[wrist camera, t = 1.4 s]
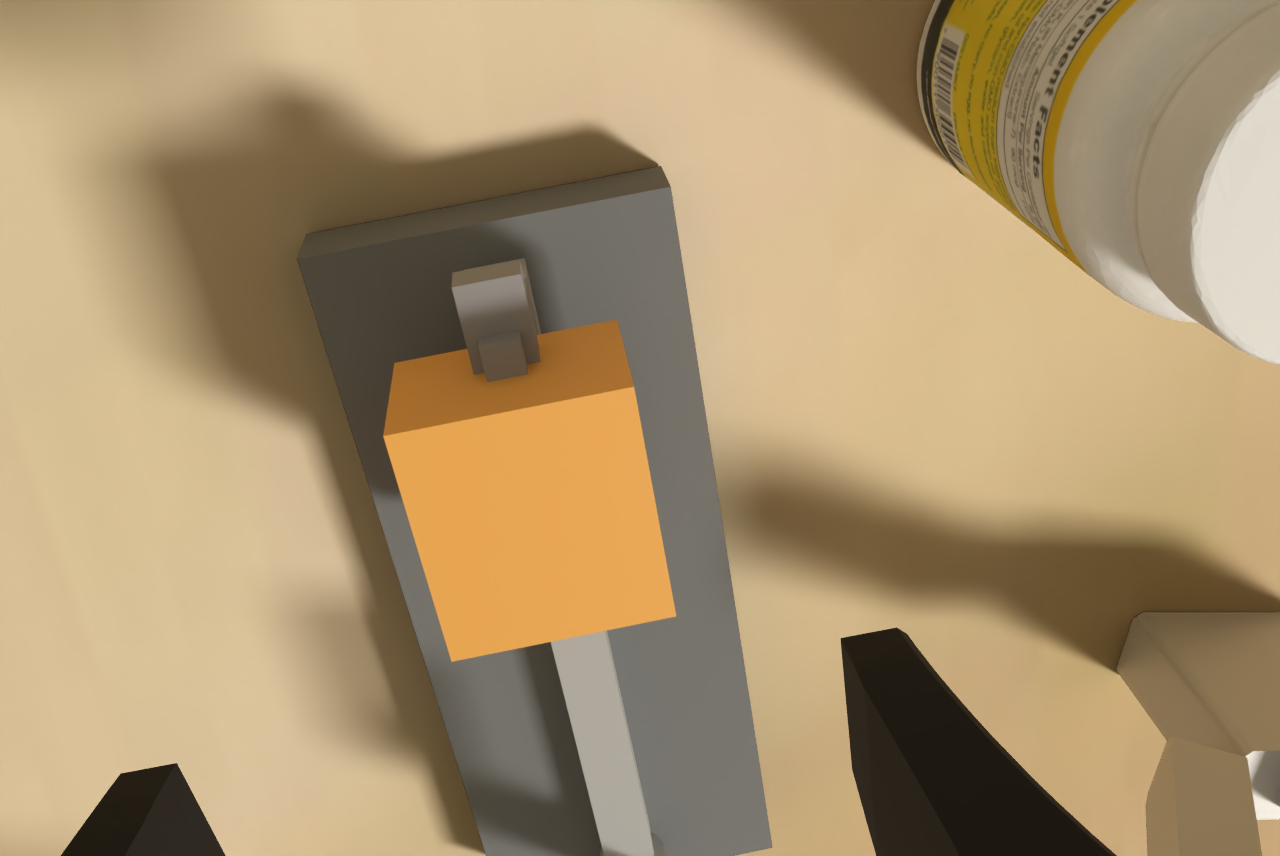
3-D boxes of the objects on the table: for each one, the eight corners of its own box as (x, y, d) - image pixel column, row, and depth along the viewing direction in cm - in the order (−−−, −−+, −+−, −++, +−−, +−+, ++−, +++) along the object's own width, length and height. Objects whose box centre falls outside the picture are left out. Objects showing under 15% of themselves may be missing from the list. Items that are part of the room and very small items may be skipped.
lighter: (1310, 611, 27) (1607, 907, 20) (1284, 674, 27) (1560, 980, 20) (1004, 612, 26) (1201, 924, 19) (986, 677, 26) (1169, 999, 19)
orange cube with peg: (656, 531, 21) (675, 616, 19) (455, 572, 21) (451, 661, 19) (601, 234, 18) (617, 293, 16) (370, 279, 18) (355, 344, 16)
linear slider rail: (761, 807, 27) (824, 1039, 22) (500, 860, 27) (504, 1107, 22) (660, 166, 20) (720, 293, 15) (307, 234, 20) (246, 386, 15)
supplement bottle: (1243, 20, 20) (1679, 153, 13) (1045, 242, 22) (1334, 476, 14) (1051, -171, 19) (1426, -143, 11) (850, 84, 20) (1064, 258, 13)
